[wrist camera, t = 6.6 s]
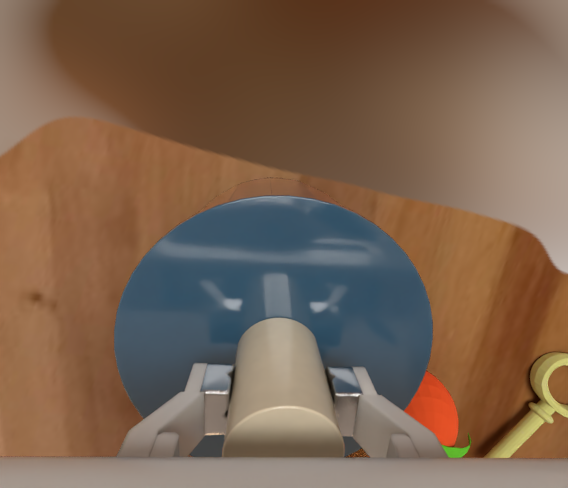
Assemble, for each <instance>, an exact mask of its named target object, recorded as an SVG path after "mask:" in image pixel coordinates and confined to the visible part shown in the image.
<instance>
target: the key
mask: <svg viewBox="0 0 568 488" xmlns="http://www.w3.org/2000/svg"><path fill="white" fill-rule="evenodd" d="M562 365H568V354H566V353H560V352H552V353H548V354H545V355H543V356H542V357H540V358H539V359H538V360H537V361H536V362H535V363H534V365H533V367H532V369H531V372H530V381H531V386H532V388H533V390H534V391H535V393H536V394H537V395H538V396H539V397H540V399H541V400H540V401H539V402H538V403H537V404H535V403H532V402H530V403H529V404H528V405H529V407H530V409H531V410H530V411H529V412H528V413H527V414H526V415H525V416H524V417H523V418H522V419H521V420H520V421H519V422H518V423H517V424H516V425H515V426H514V427H513V428H512V429H511V430H510V431H509V432H508V433H507V434H506V435H505V436H504V437H503V438H502V439H501V440H500V441H499V442H498V443H497V444H496V445H495V446H494V447H493V449H492V450H491V451H490V452H489V453H488V454H487V455H486V456H485V457H484V458H509V457H510V456H511V455H512V454H513V453H514V452H515V451H516V450H517V449H518V448H519V447H520V446H521V445H522V444H523V443H524V442H525V441H526V440H527V439H528V438H529V437H530V436H531V435H532V434H533V433H534V432H535V431H536V430H537V429H538V428H539V427H540V426H541V425H542V424H543V423H544V422H547V423H553V419H552V417H551V415H552V414H553V413H554V412H555V411H556V412H557V413H559V414H561V415H563V416H565V417H567V418H568V405H565V404H560V403H558V402H557V401H555V400H554V399H553V397H552V396H551V394H550V392H549V389H548V379H549V376H550V375H551V373H552V372H553V370H555V369H556V368H557V367H559V366H562Z"/></svg>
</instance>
